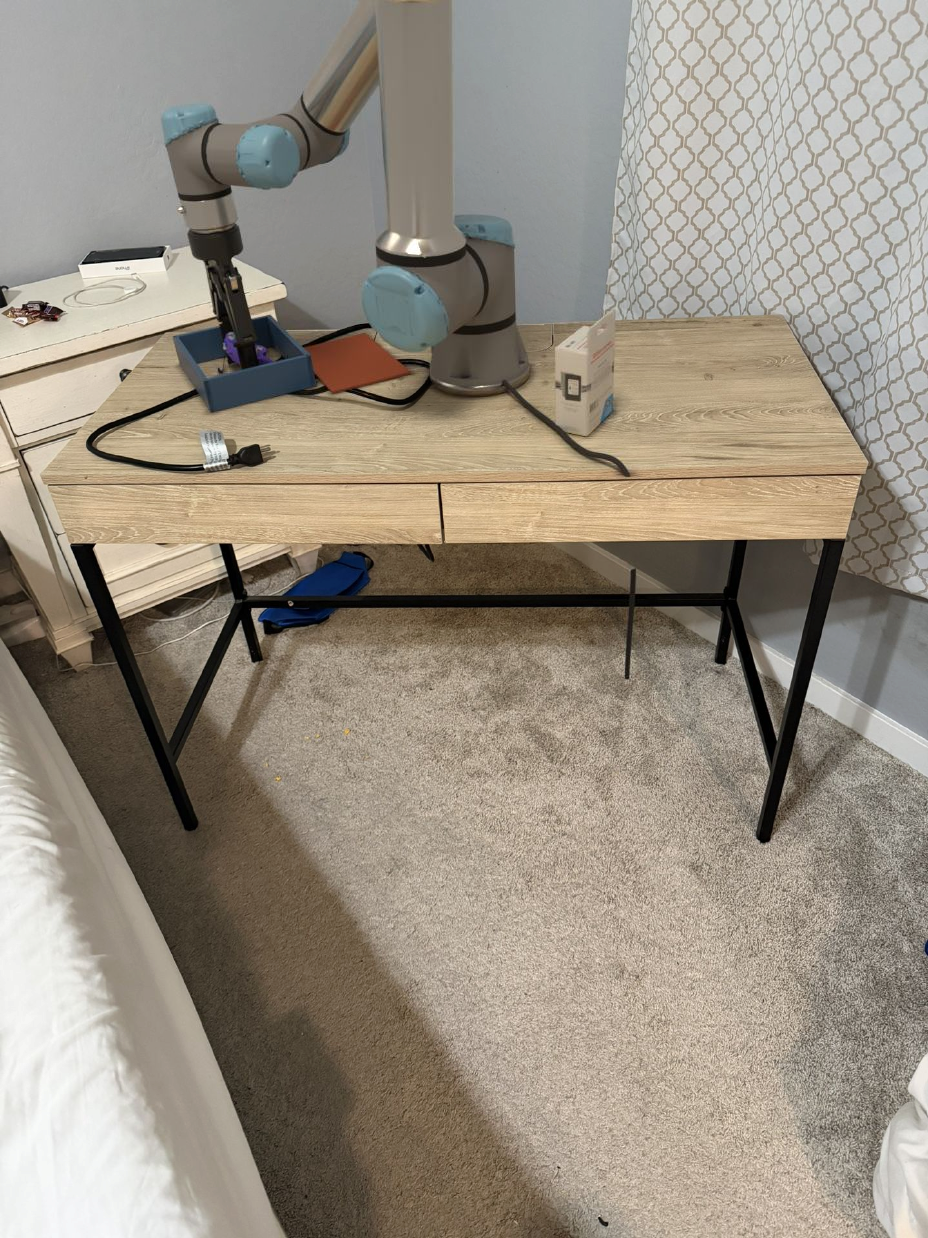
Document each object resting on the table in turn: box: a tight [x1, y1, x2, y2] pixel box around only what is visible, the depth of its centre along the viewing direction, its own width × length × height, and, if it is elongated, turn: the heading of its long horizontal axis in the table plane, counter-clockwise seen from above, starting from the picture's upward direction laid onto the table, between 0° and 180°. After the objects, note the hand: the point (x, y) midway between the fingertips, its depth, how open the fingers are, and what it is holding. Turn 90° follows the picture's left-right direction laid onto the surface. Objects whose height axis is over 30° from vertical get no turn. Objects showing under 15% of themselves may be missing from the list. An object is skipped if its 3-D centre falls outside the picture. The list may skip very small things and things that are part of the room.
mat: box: [303, 332, 412, 395], centre depth 148 cm, size 20×13×1 cm, turn 26°
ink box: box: [554, 308, 617, 437], centre depth 122 cm, size 9×5×15 cm, turn 148°
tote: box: [171, 314, 317, 413], centre depth 146 cm, size 22×17×5 cm
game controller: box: [217, 325, 283, 375], centre depth 146 cm, size 10×8×10 cm
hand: (244, 372), depth 147 cm, fingers closed on game controller, 10 cm apart
